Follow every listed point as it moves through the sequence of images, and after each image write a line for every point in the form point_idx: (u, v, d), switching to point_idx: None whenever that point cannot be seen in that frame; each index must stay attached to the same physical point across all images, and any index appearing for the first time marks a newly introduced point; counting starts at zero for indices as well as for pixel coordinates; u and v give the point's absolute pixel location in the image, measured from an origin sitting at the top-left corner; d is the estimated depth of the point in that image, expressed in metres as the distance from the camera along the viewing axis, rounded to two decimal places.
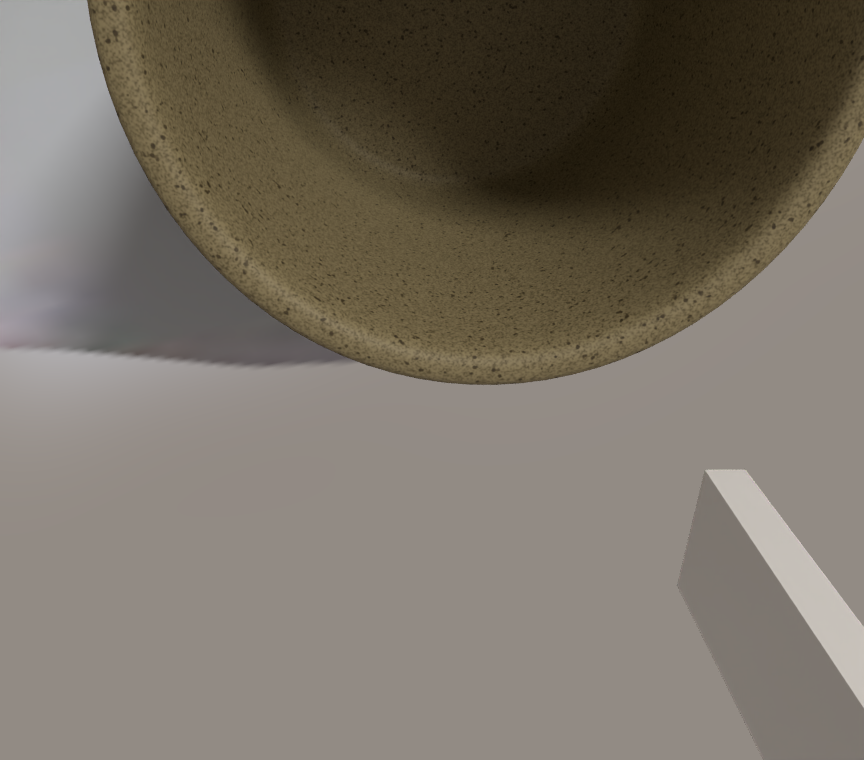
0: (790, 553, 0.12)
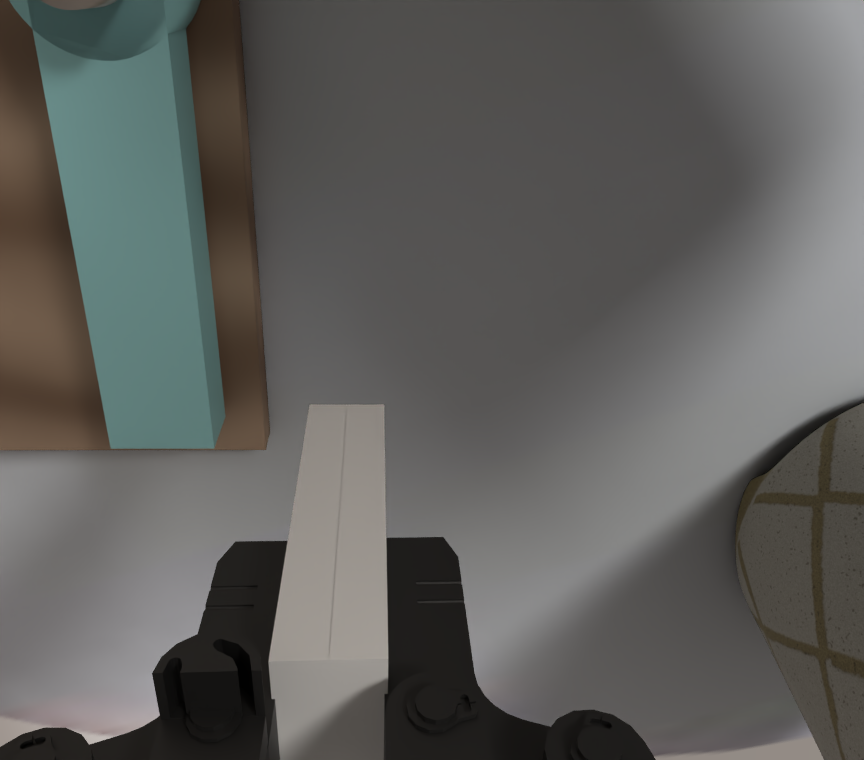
0: (368, 468, 0.13)
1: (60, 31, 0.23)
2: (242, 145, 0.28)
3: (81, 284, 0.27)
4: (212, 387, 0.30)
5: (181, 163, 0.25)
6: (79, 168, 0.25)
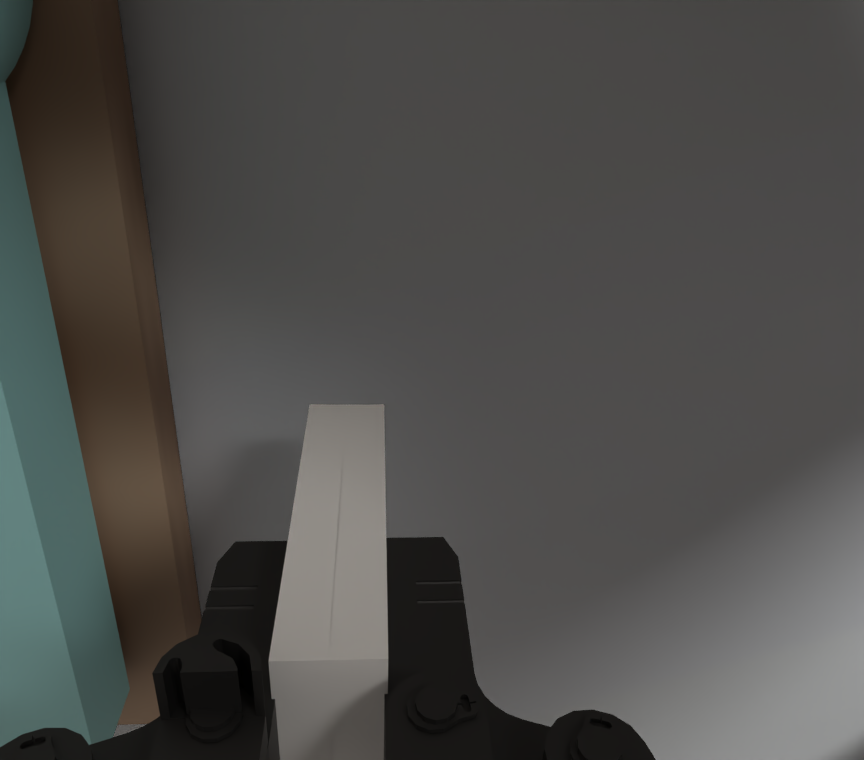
0: (368, 468, 0.13)
1: None
2: (133, 282, 0.16)
3: None
4: (94, 678, 0.18)
5: None
6: None
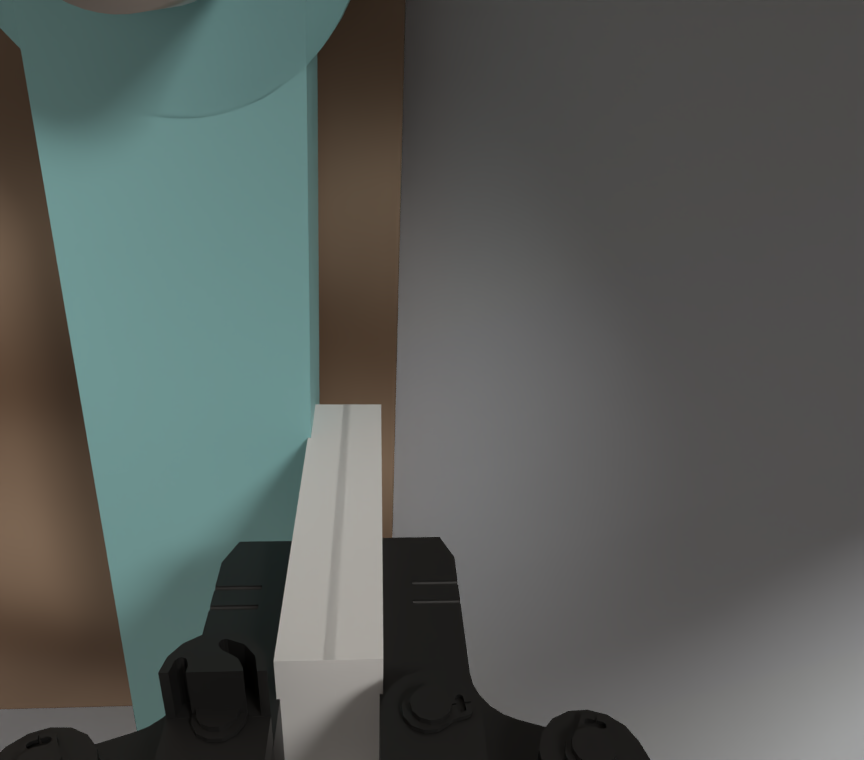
0: (365, 468, 0.13)
1: (80, 56, 0.11)
2: (398, 254, 0.16)
3: (102, 513, 0.15)
4: None
5: (307, 313, 0.13)
6: (108, 321, 0.13)
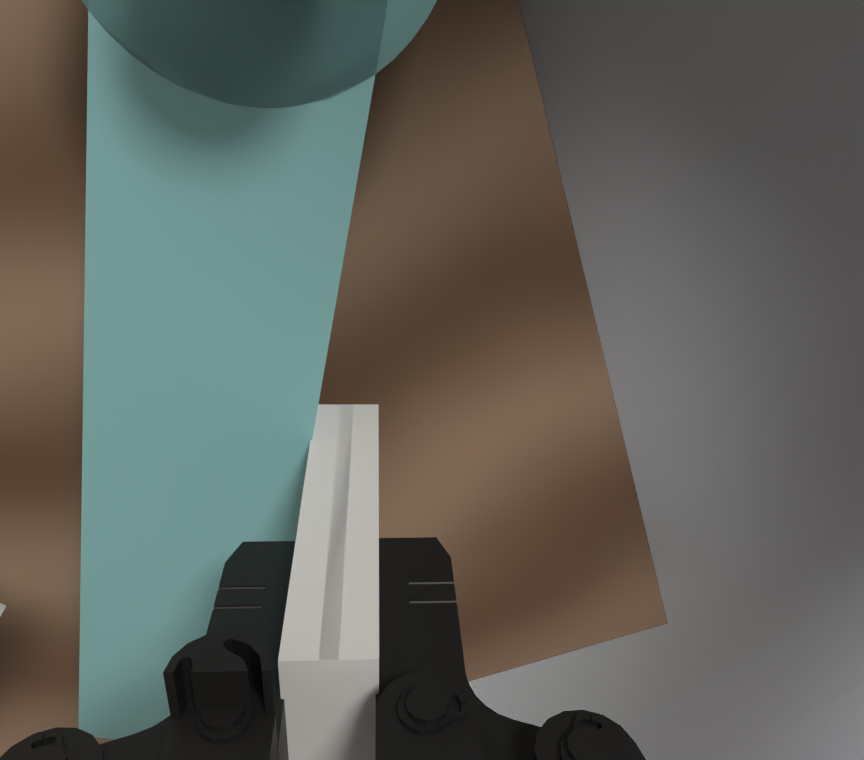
0: (362, 468, 0.13)
1: (149, 27, 0.11)
2: (558, 169, 0.15)
3: (83, 489, 0.14)
4: None
5: (331, 316, 0.13)
6: (127, 296, 0.12)
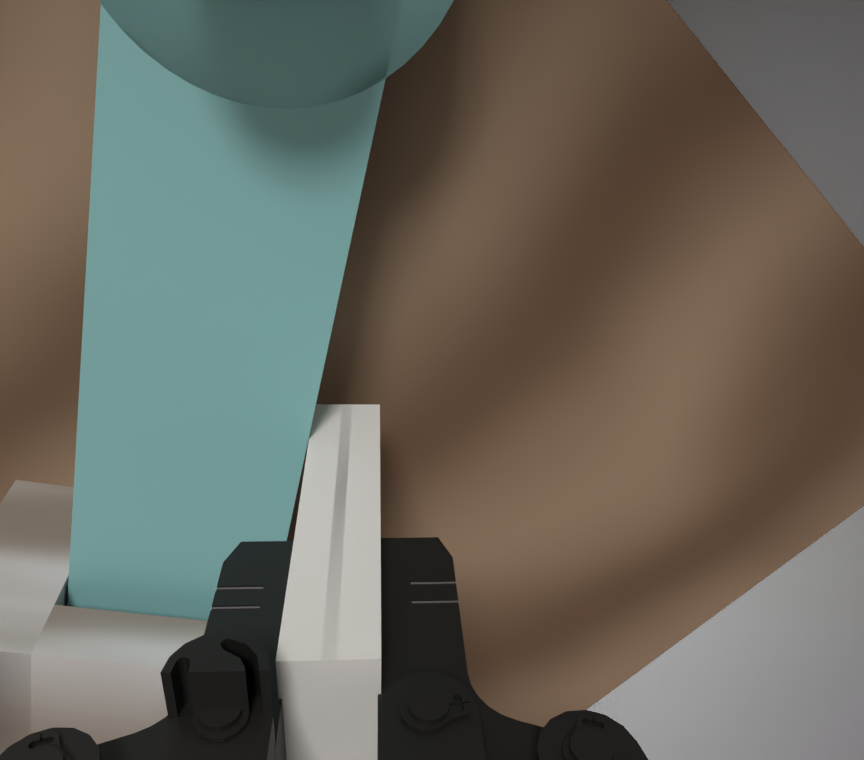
0: (363, 468, 0.13)
1: (161, 23, 0.11)
2: (665, 0, 0.14)
3: (75, 483, 0.14)
4: None
5: (333, 317, 0.13)
6: (128, 291, 0.12)
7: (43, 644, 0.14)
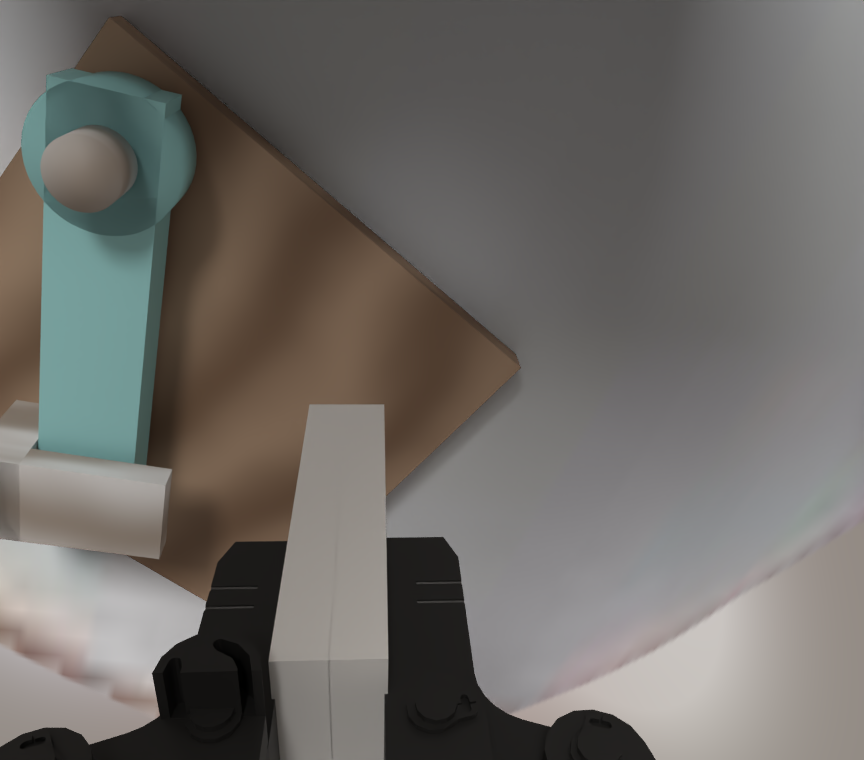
0: (369, 468, 0.13)
1: (66, 207, 0.28)
2: (298, 178, 0.32)
3: (40, 392, 0.32)
4: None
5: (146, 318, 0.31)
6: (59, 307, 0.30)
7: (24, 461, 0.31)
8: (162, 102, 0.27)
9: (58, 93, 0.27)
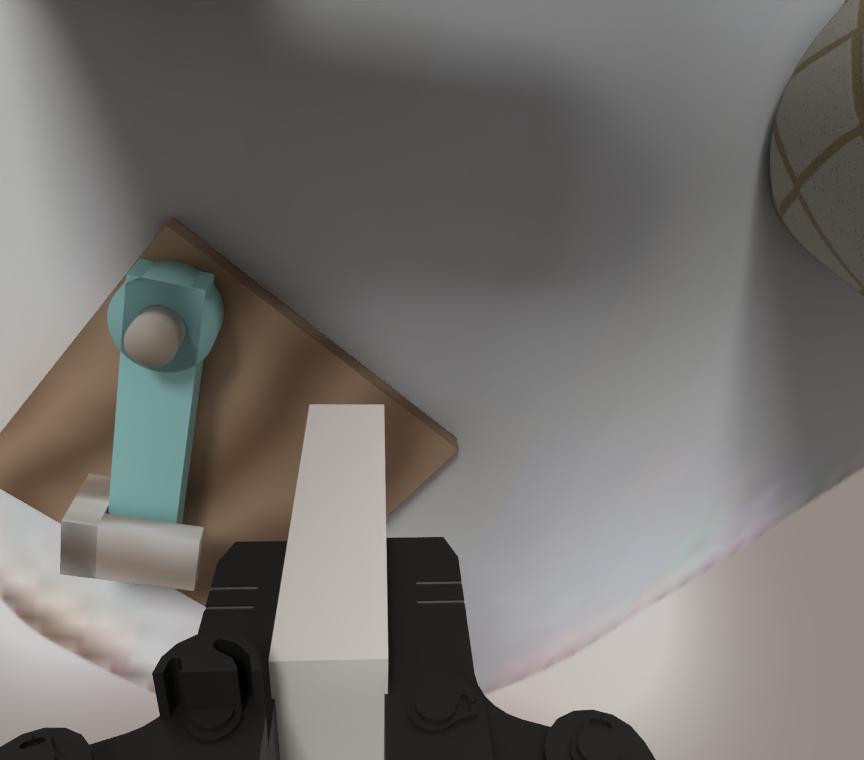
0: (369, 468, 0.13)
1: None
2: (295, 324, 0.45)
3: (111, 474, 0.45)
4: None
5: (188, 425, 0.44)
6: (127, 418, 0.43)
7: (101, 523, 0.45)
8: (203, 289, 0.40)
9: (133, 285, 0.40)
